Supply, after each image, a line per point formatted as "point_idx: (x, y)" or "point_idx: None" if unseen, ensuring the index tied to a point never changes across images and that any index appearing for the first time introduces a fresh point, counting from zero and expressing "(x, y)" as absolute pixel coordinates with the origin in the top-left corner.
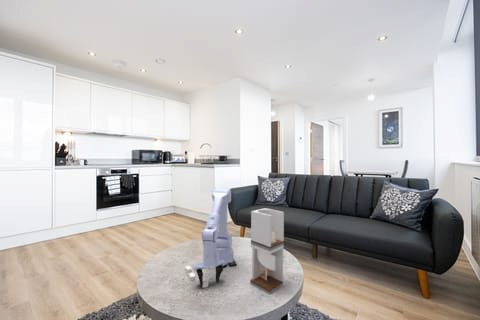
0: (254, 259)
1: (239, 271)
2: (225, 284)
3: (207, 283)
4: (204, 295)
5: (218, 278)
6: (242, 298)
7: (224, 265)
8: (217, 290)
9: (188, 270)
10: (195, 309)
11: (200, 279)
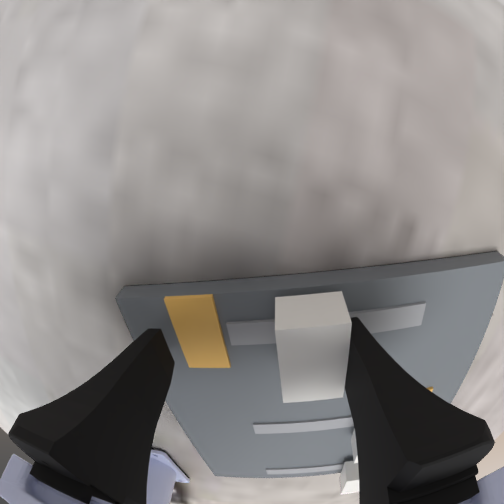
0: None
1: (44, 384)
2: (100, 305)
3: (285, 324)
4: (338, 191)
5: (127, 355)
6: (5, 78)
7: (13, 455)
8: (173, 239)
9: None
10: (450, 16)
11: (402, 374)
